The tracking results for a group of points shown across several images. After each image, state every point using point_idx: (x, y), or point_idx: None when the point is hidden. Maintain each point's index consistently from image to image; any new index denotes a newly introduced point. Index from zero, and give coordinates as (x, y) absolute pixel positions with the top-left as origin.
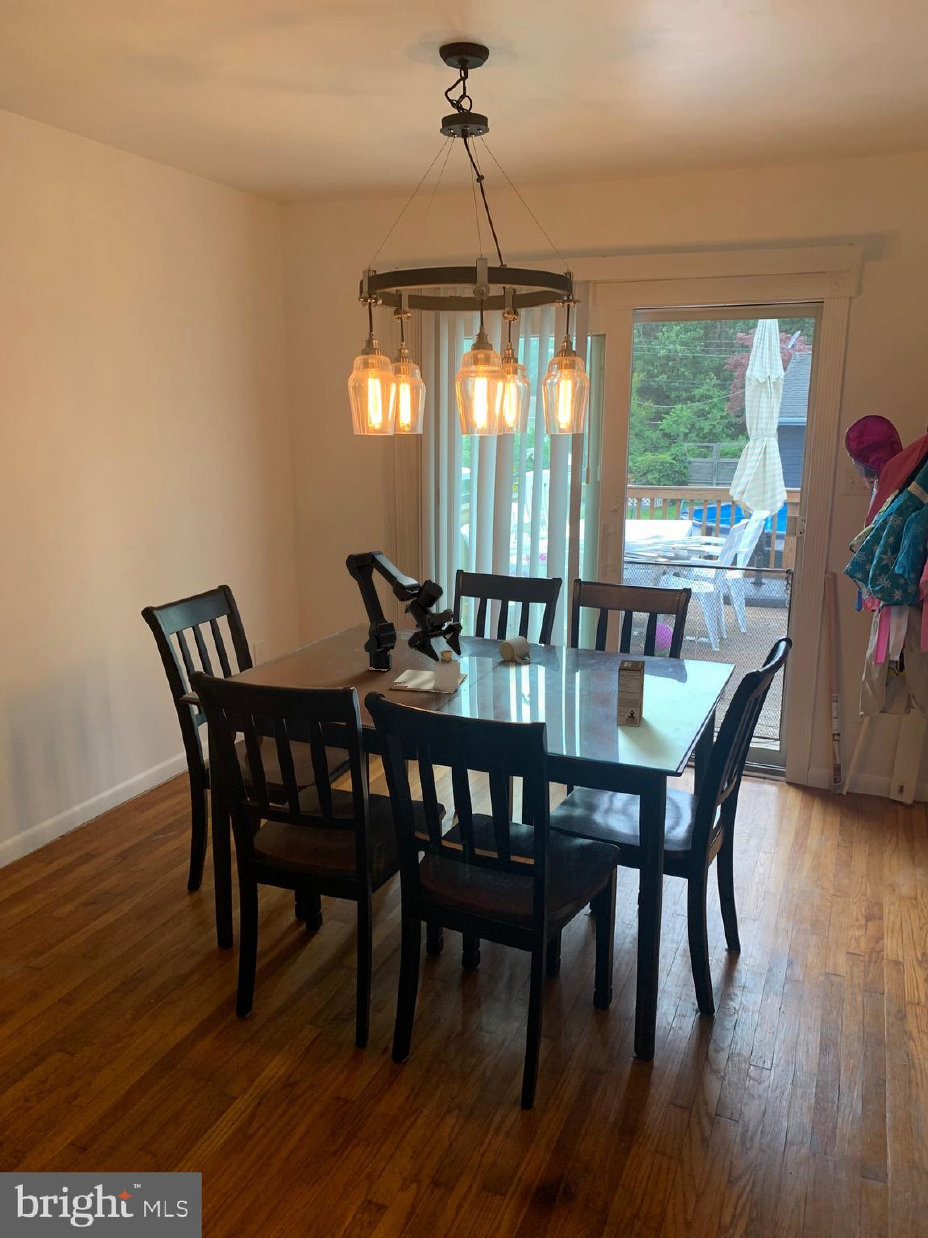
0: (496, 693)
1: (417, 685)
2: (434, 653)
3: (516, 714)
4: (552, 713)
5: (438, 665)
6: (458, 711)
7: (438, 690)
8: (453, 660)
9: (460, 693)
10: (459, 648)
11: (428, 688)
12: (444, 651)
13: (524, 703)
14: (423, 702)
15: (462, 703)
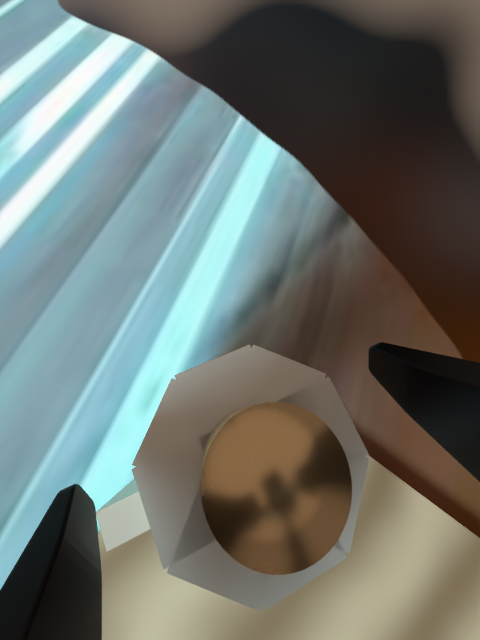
0: (41, 288)
1: (375, 517)
2: (465, 360)
3: (117, 82)
4: (4, 44)
5: (338, 404)
6: (281, 175)
7: None
8: (178, 468)
9: (193, 353)
10: (27, 565)
11: None
12: (294, 504)
13: (19, 145)
14: (375, 306)
15: (237, 237)
